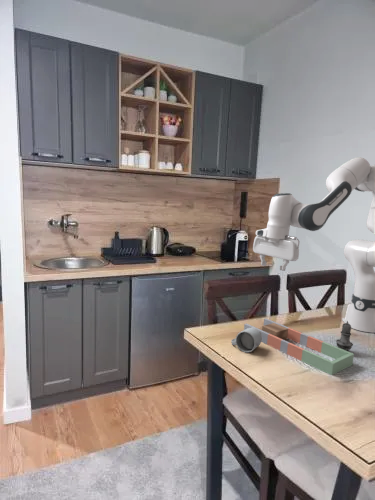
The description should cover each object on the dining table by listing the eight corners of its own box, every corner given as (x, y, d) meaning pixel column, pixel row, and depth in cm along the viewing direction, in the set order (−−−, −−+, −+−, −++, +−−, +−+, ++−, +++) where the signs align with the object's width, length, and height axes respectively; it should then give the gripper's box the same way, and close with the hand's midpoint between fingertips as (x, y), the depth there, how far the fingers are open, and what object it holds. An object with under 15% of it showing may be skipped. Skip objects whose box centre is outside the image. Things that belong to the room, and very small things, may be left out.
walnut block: (272, 334, 141) (273, 322, 140) (286, 340, 135) (288, 328, 134) (261, 337, 137) (262, 325, 136) (275, 344, 131) (276, 332, 130)
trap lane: (265, 327, 148) (266, 318, 147) (352, 364, 118) (354, 353, 118) (243, 333, 140) (244, 323, 139) (331, 375, 110) (333, 363, 109)
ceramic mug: (262, 347, 127) (264, 327, 126) (254, 355, 120) (255, 334, 119) (236, 340, 133) (237, 321, 132) (227, 347, 126) (228, 327, 125)
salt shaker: (353, 356, 125) (358, 325, 123) (336, 354, 126) (340, 322, 124) (349, 349, 130) (353, 319, 129) (333, 347, 132) (337, 317, 130)
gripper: (304, 237, 131) (299, 273, 133) (262, 230, 147) (258, 262, 149) (295, 237, 127) (289, 274, 129) (252, 230, 143) (248, 263, 145)
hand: (272, 267), depth 139 cm, fingers open, 8 cm apart
